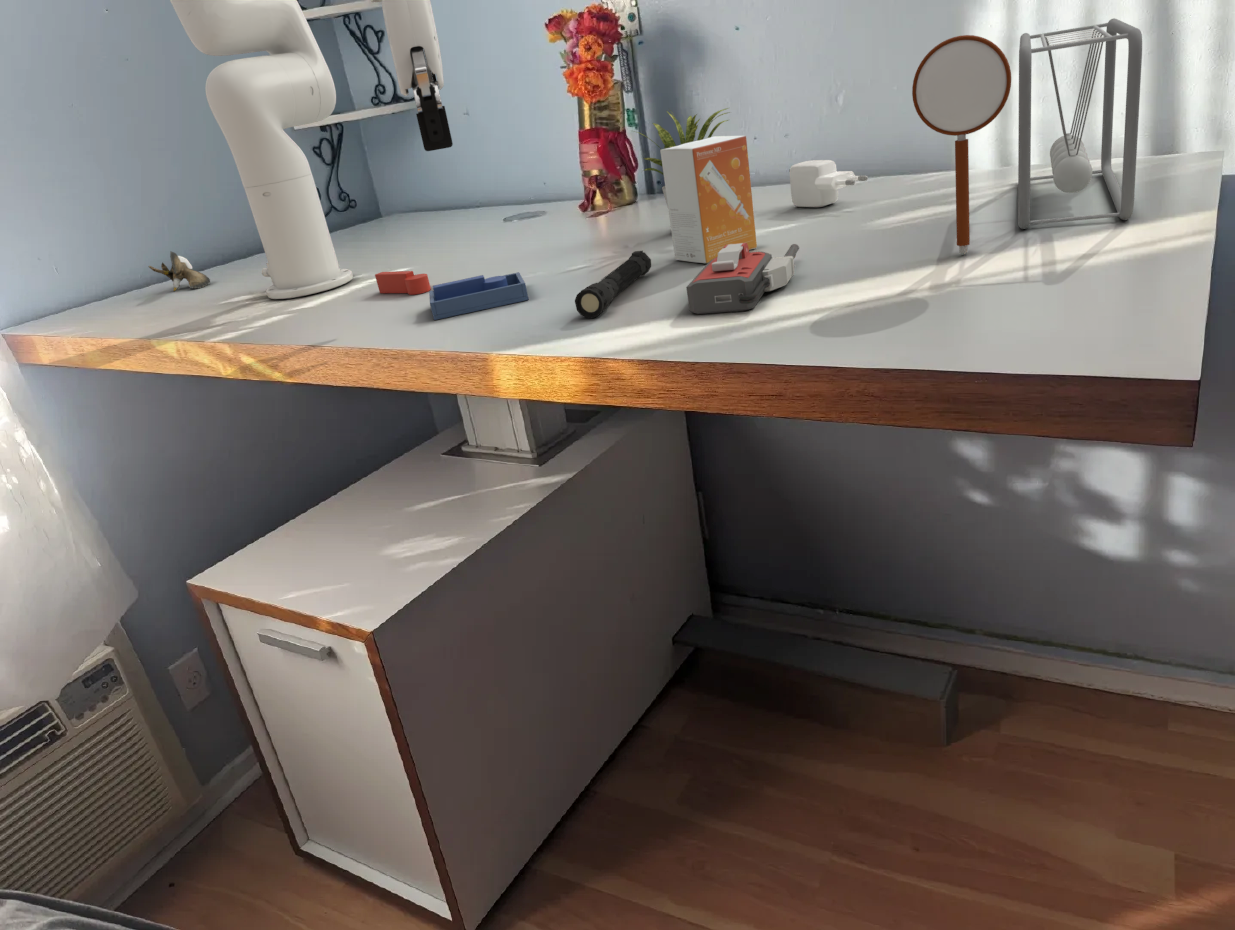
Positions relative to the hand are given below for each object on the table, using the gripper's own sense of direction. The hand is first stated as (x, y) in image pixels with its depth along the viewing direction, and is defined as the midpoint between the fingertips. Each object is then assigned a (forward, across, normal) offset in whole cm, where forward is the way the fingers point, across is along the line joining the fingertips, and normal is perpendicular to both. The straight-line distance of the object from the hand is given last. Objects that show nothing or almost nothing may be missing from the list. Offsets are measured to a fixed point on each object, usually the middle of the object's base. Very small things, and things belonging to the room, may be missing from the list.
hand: (439, 145), depth 107 cm
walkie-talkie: (+17, +25, +28) cm, 41 cm away
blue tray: (+18, +7, +1) cm, 19 cm away
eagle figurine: (+19, -53, -48) cm, 74 cm away
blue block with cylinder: (+17, +7, 0) cm, 18 cm away
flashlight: (+17, +17, +16) cm, 29 cm away
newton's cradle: (+17, +17, +69) cm, 73 cm away
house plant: (+18, -11, +33) cm, 39 cm away
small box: (+17, +7, +30) cm, 35 cm away
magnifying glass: (+17, +30, +49) cm, 60 cm away
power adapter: (+17, -8, +50) cm, 54 cm away
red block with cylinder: (+18, -10, -8) cm, 22 cm away
